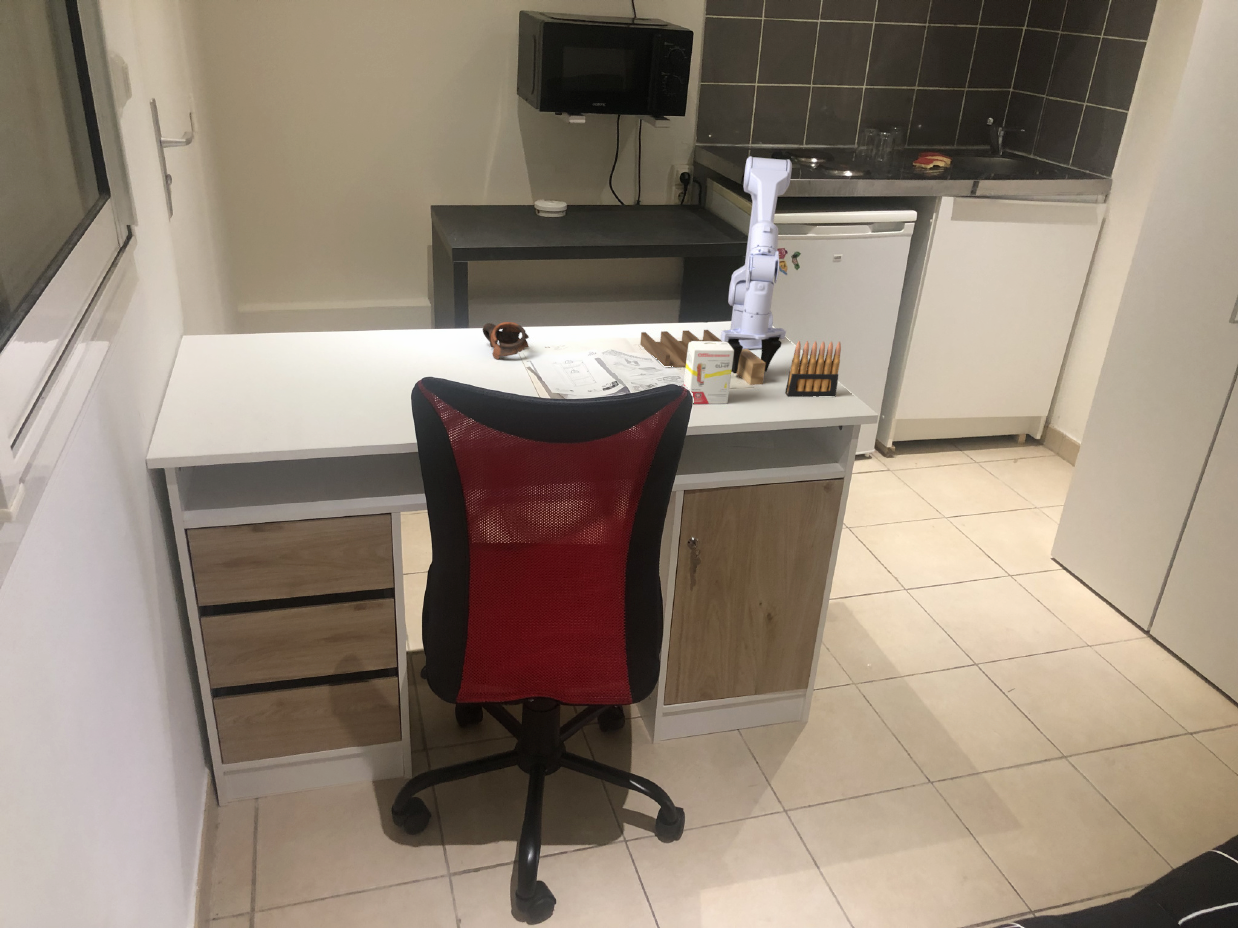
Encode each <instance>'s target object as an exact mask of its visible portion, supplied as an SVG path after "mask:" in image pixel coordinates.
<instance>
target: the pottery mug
mask: <svg viewBox="0 0 1238 928" xmlns="http://www.w3.org/2000/svg"><path fill="white" fill-rule="evenodd" d="M482 333H483V335H484V337H485V338H486V340H487V341H488V342H489V344H490V347H491V348H493V350H492V353H491V354H492V357H493V358H494V359H496V360H499V359H500V357H509V356H513V355H517V354H518V353H520V352H522V351H523V350H524V351H525V349H526V348H527V349H528V348H529V347H530V346H529V342H528V341H527V339H530V336H529V335H528V334H527V332H526V329H524V327H523V326H521V325H520V324H518V323H516V322H512V321H504V322H500V323H498V324H497V325H496V324H494V323H490V322H489V323H488V322H487V323H485V324H484V325H483V327H482ZM520 335H521V337H520ZM498 343H499V344H498Z"/></svg>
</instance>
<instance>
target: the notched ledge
mask: <svg viewBox="0 0 1238 928" xmlns="http://www.w3.org/2000/svg"><path fill="white" fill-rule="evenodd" d="M681 333H682V335H681V340H678V339H676V338H675V337H674V336H673V335H672V334H671V333H670V332H669V331H665V330H664V331H661V332H660V338H659V339H660V340H659V341H656V340H655V339H653V338H652V337H651V336H650V335H649V334H648V333H647V332H646V331H642V332H641V333H640V346H641V348H643V347H644V348H643V349H644V350H645V351H647V352H648V353H649V354H650V355H651V356H652V355H653V356H654V357H655V358H657V360H659V361H660V362H661V363H662V364H663V365H664V366H671V367H672V366H673V367H675V368H686V360H687V352H688V344H689V342H691V341H714V342H715V341H717V342H724V341H722V340H721V339H720V338H719V337H718V336H716V335H715V334H713V332H711V331H710V330H709V329H703V336H702V339H699V338H698V337H697V336H696V335H695V334H693V333H692V332H691V331H690V330H682V332H681ZM653 356H652V357H653ZM654 357H653V358H654ZM655 358H654V359H655ZM657 360H656V361H657Z"/></svg>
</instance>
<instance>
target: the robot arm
mask: <svg viewBox="0 0 1238 928" xmlns="http://www.w3.org/2000/svg"><path fill="white" fill-rule="evenodd" d="M745 162H746V163H745V167H744V177H743V191H744V193H747V194H750V196H751V200H752V201H751V202H752V205H751V213H750V221H749V228H748V229H749V230H748V237H747V243H746V244H747V245H746V254H745V261H744V262H745V263H744V265H743V266H740V267H739V268H738V269H736V270H735V271H733V273H732V274H731V280H730V283H729V289H728V290H729V291H728V300H727V301H728V304H729V306H732V312H731V314H732V315H731V322H730V327H729V329H727V330H726V329H724V330H721V331H720V338H719V339H720V340H721V341H723V342H728V343H729V344H730V346H731V347H732V348H733V349H734V356H733V364H732V372H731V373H732V374H737V371H738V364H739V358H740V354H741V351H742V349H748V350H753V349H757V350H759V349H761V353H760V354H761V355H760V359H761V360H763V361H764V362H765V363H766V364H765V371H764V373H766V372H767V371H768V369H769V366H770V364H771V363H772V360H773V358H774V356H775V354H777V352H778V351H779V349H780V348H781V346H782V341H781V340H785V339H786V333H787V330H785V329H784V328H781V327H779V328H777V327H773V326H774V325H773V323H774V318H773V313H772V310H771V309H772V303H773V302H772V300H773V295H774V288H775V284H776V283H777V280H778V277H779V272H780V256H779V253H780V252H779V250H778V244H779V243H778V242H779V228H778V226H777V225H776V224H775V223H774V221H775V214H776V208H777V201H778V197H779V196H783V195H784V194H785V193H786V192H787V190H788V189H789V187H790V183H791V177H792V170H793V169H792V168H793V164H792V161H791V160H790V159H778V158H777V159H776V158H766V157H765V158H764V157H753V156H751V155H750V156H748V157H747V158H746V161H745Z"/></svg>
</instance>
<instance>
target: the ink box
mask: <svg viewBox="0 0 1238 928" xmlns="http://www.w3.org/2000/svg"><path fill="white" fill-rule="evenodd" d="M733 356H734V349H733V348H732V347H731V346H730V344H729V343H728V342H724V341H723V342H717V341H715V342H714V341H691V342H689V344H688V352H687V360H686V367H684V369H685V370H684V377H683V385H684V386H686V387H688V389H690V390H691V392H692V393H693V397H694V404H693V405H721V404H723V405H726V404H728V401H729V393H730V385H731V379H732V373H733V372H732V364H733Z"/></svg>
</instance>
